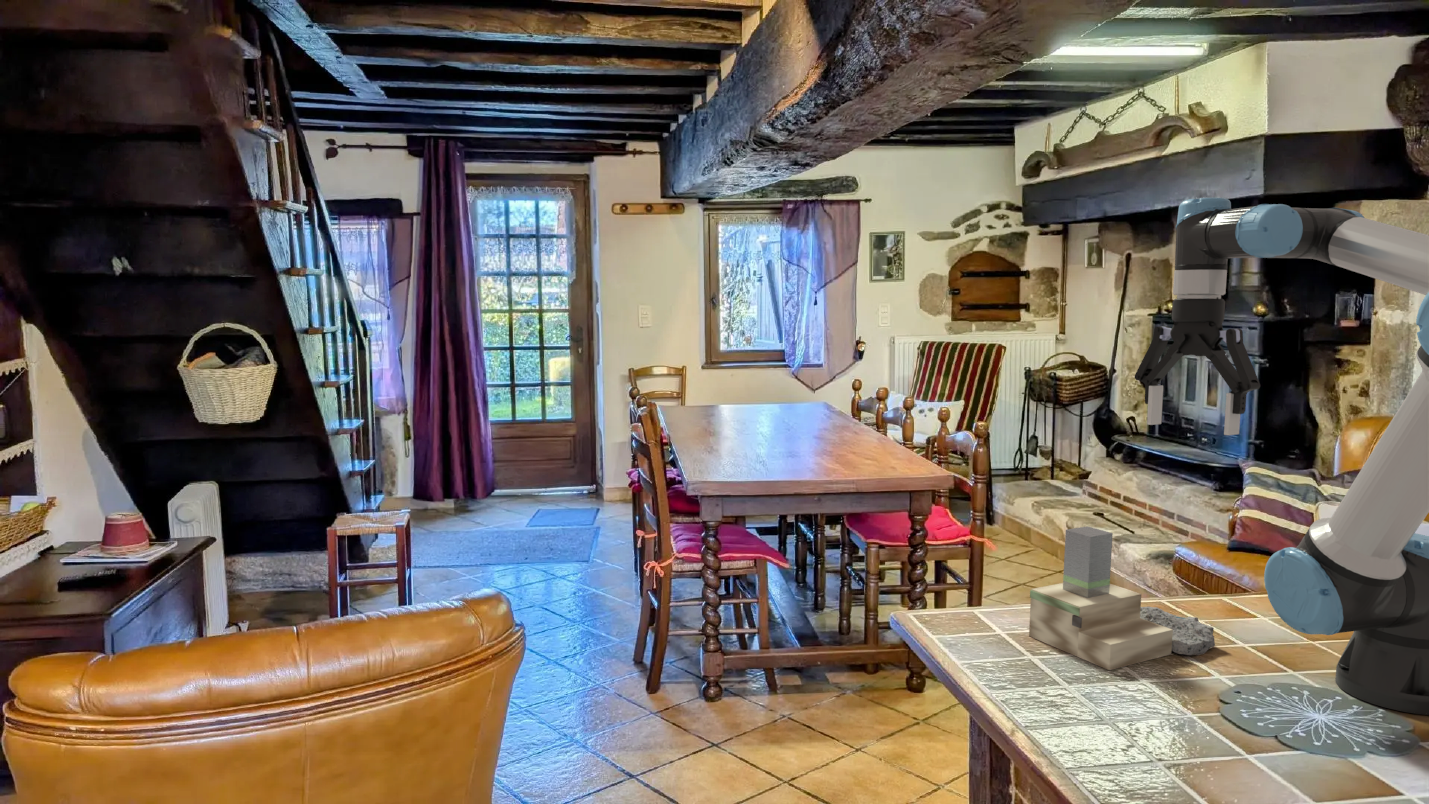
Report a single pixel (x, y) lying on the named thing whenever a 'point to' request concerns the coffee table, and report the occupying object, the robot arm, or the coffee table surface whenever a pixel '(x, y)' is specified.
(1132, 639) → the stand
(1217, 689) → the coffee table surface
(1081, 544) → the column
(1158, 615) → the rock
